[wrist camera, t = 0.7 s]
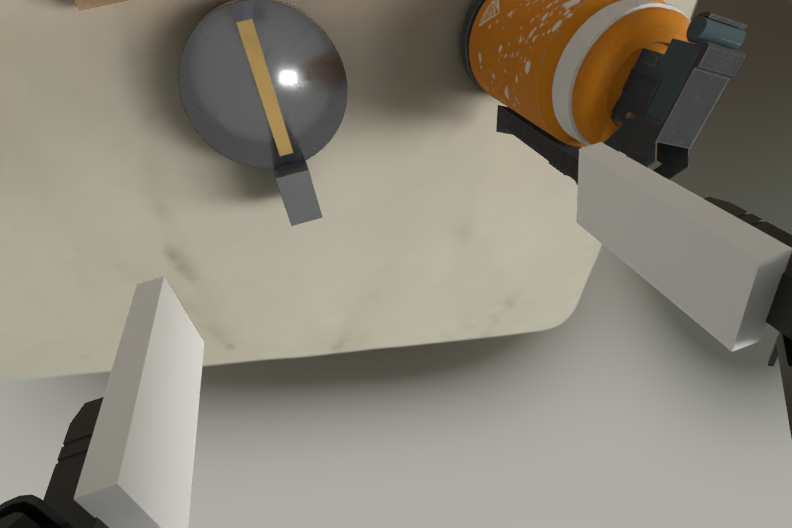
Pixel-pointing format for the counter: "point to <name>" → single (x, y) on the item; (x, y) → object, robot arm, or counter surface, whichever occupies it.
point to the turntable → (265, 92)
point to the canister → (601, 75)
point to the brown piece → (93, 3)
